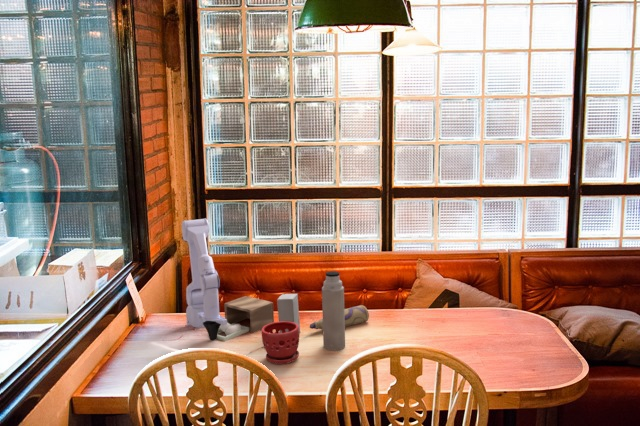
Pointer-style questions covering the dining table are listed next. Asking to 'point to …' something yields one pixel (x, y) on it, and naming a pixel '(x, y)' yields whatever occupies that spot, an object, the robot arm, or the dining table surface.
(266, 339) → the plant pot
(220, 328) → the white rounded piece
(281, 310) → the skincare box
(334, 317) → the thermos bottle
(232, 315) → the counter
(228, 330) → the pale pink rounded cylinder
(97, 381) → the dining table surface
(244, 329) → the tray
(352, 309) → the decorative bottle
